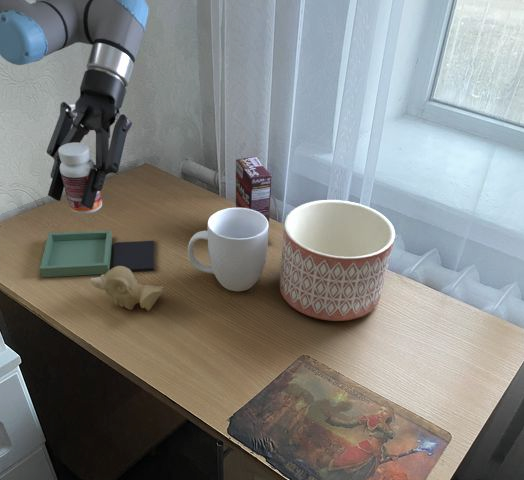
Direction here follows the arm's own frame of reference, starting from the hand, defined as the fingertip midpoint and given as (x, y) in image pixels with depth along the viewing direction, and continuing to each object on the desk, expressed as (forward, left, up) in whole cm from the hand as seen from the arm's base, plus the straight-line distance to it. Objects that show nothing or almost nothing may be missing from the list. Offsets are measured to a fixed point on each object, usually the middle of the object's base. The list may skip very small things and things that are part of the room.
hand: (70, 202), depth 97 cm
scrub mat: (-2, +10, -14) cm, 17 cm away
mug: (+8, +29, -14) cm, 33 cm away
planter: (+14, +47, -14) cm, 51 cm away
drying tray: (-3, -1, -14) cm, 14 cm away
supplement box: (-8, +35, -14) cm, 38 cm away
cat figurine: (+13, +10, -14) cm, 21 cm away
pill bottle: (-4, +2, -3) cm, 5 cm away
